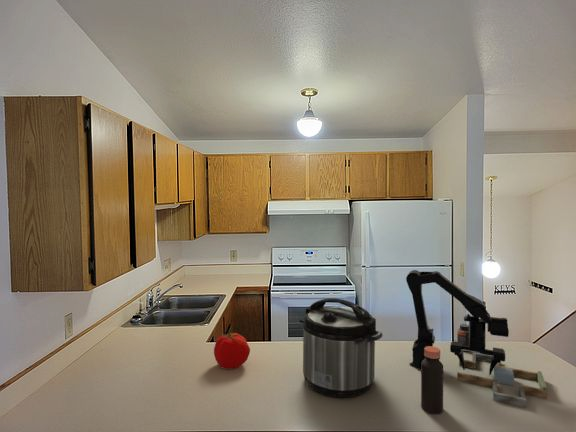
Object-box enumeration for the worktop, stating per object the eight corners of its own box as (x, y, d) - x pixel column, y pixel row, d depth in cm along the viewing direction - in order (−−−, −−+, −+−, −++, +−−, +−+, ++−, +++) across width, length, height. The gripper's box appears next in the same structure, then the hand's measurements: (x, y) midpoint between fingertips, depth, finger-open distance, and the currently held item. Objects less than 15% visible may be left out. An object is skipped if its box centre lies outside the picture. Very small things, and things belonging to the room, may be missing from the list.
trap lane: (455, 391, 127) (455, 382, 127) (460, 355, 157) (460, 347, 157) (551, 413, 114) (551, 402, 114) (537, 369, 143) (537, 360, 143)
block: (494, 382, 134) (494, 371, 134) (493, 376, 138) (494, 366, 138) (513, 385, 131) (513, 375, 131) (512, 379, 136) (512, 369, 135)
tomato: (207, 370, 146) (207, 337, 146) (225, 356, 159) (225, 326, 159) (241, 376, 141) (240, 342, 140) (257, 361, 153) (256, 330, 153)
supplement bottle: (473, 352, 160) (473, 327, 159) (459, 351, 161) (459, 327, 160) (469, 347, 166) (469, 323, 165) (455, 346, 167) (455, 322, 166)
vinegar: (441, 417, 113) (441, 355, 112) (419, 410, 117) (419, 350, 116) (444, 406, 119) (445, 347, 118) (423, 400, 122) (423, 343, 121)
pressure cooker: (395, 393, 127) (395, 305, 126) (323, 410, 117) (323, 315, 116) (352, 358, 155) (351, 286, 154) (291, 370, 146) (290, 293, 144)
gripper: (504, 329, 141) (503, 368, 142) (452, 322, 150) (452, 359, 151) (505, 339, 131) (505, 381, 132) (450, 331, 140) (450, 370, 141)
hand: (476, 372), depth 139 cm, fingers open, 9 cm apart
